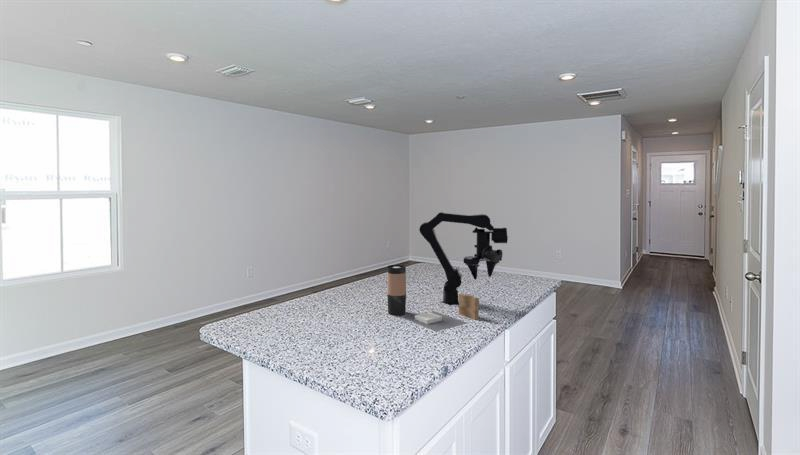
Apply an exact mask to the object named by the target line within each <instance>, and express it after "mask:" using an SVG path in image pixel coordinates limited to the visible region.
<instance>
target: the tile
mask: <svg viewBox="0 0 800 455" xmlns="http://www.w3.org/2000/svg"><path fill="white" fill-rule="evenodd" d="M427 312H428V313H427ZM427 312H424V314H423V313H419V315H418V314H415V320H418V321H420V322H423V323H426V324H429V323H434V322H438V321H442V316H439V315H436V314H433V313H430V312H431V311H427Z"/></svg>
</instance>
